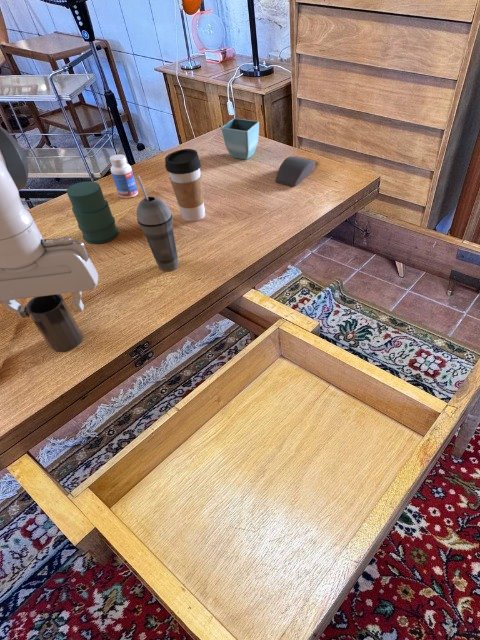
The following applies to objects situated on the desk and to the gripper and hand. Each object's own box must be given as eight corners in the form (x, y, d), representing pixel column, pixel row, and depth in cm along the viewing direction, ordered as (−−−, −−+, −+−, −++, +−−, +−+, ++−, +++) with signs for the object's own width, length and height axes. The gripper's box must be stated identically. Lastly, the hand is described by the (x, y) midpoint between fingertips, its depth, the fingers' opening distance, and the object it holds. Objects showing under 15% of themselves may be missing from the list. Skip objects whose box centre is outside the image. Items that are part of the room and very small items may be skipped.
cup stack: (81, 245, 107) (60, 199, 98) (86, 227, 112) (67, 181, 103) (117, 242, 108) (100, 195, 99) (120, 224, 113) (104, 178, 104)
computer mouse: (318, 169, 132) (319, 154, 129) (296, 188, 124) (296, 173, 121) (295, 164, 134) (294, 150, 131) (272, 182, 127) (271, 167, 124)
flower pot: (262, 152, 140) (259, 120, 133) (250, 163, 135) (247, 131, 128) (237, 149, 143) (233, 117, 136) (224, 159, 137) (220, 127, 130)
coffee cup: (215, 217, 114) (205, 156, 103) (185, 227, 112) (171, 165, 100) (201, 204, 119) (189, 144, 107) (172, 214, 116) (157, 153, 104)
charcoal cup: (46, 353, 83) (22, 316, 76) (52, 332, 87) (30, 294, 80) (80, 349, 84) (59, 312, 77) (85, 328, 87) (65, 290, 80)
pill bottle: (134, 199, 122) (122, 162, 114) (115, 198, 122) (103, 161, 115) (141, 190, 125) (130, 153, 118) (123, 189, 126) (111, 152, 118)
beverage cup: (174, 277, 98) (148, 186, 82) (146, 271, 100) (116, 181, 84) (190, 260, 102) (169, 170, 87) (163, 254, 104) (137, 165, 88)
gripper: (83, 226, 72) (112, 295, 83) (-48, 240, 71) (-1, 309, 81) (77, 246, 68) (109, 316, 79) (-62, 262, 67) (-10, 331, 77)
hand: (52, 312), depth 80 cm, fingers open, 8 cm apart
